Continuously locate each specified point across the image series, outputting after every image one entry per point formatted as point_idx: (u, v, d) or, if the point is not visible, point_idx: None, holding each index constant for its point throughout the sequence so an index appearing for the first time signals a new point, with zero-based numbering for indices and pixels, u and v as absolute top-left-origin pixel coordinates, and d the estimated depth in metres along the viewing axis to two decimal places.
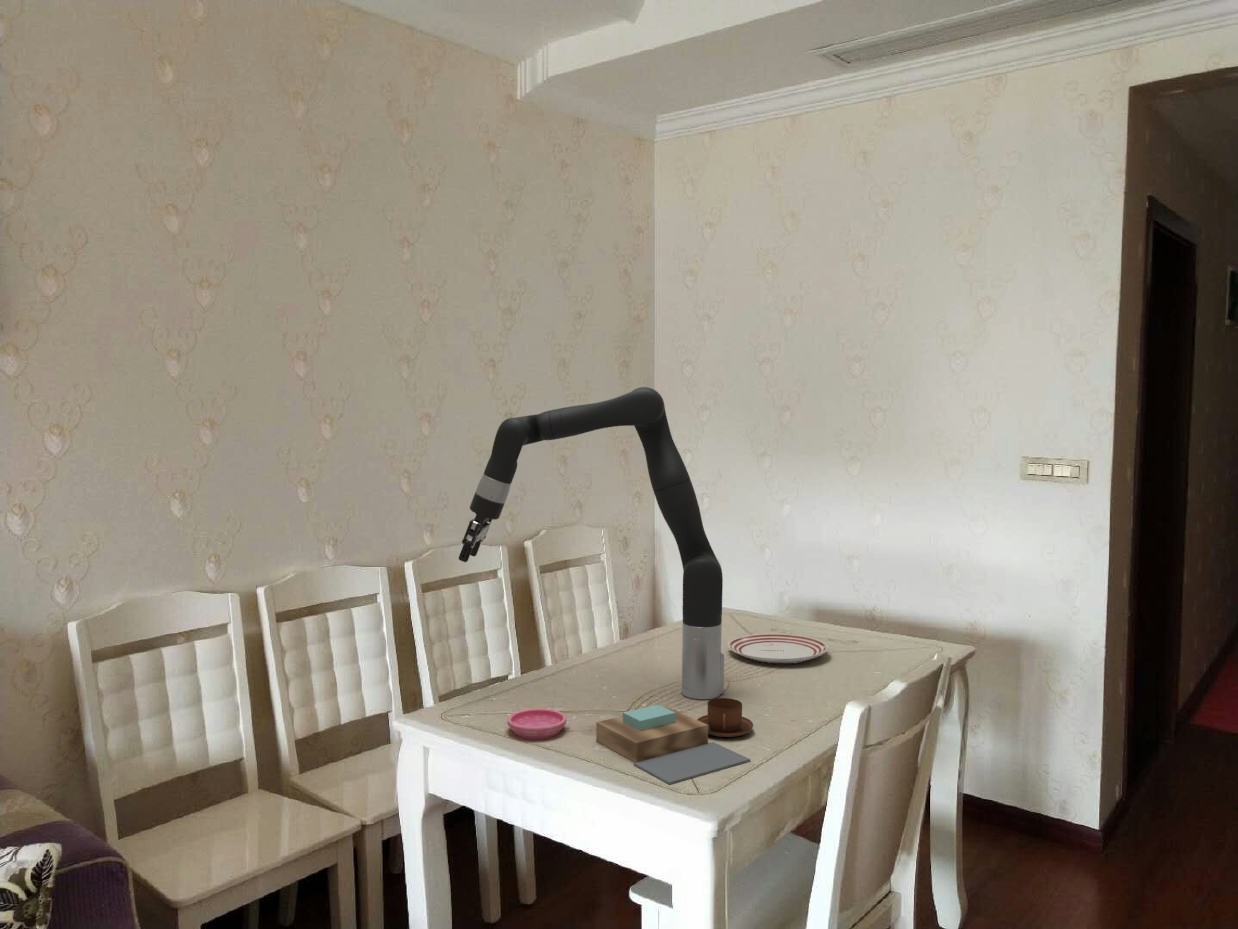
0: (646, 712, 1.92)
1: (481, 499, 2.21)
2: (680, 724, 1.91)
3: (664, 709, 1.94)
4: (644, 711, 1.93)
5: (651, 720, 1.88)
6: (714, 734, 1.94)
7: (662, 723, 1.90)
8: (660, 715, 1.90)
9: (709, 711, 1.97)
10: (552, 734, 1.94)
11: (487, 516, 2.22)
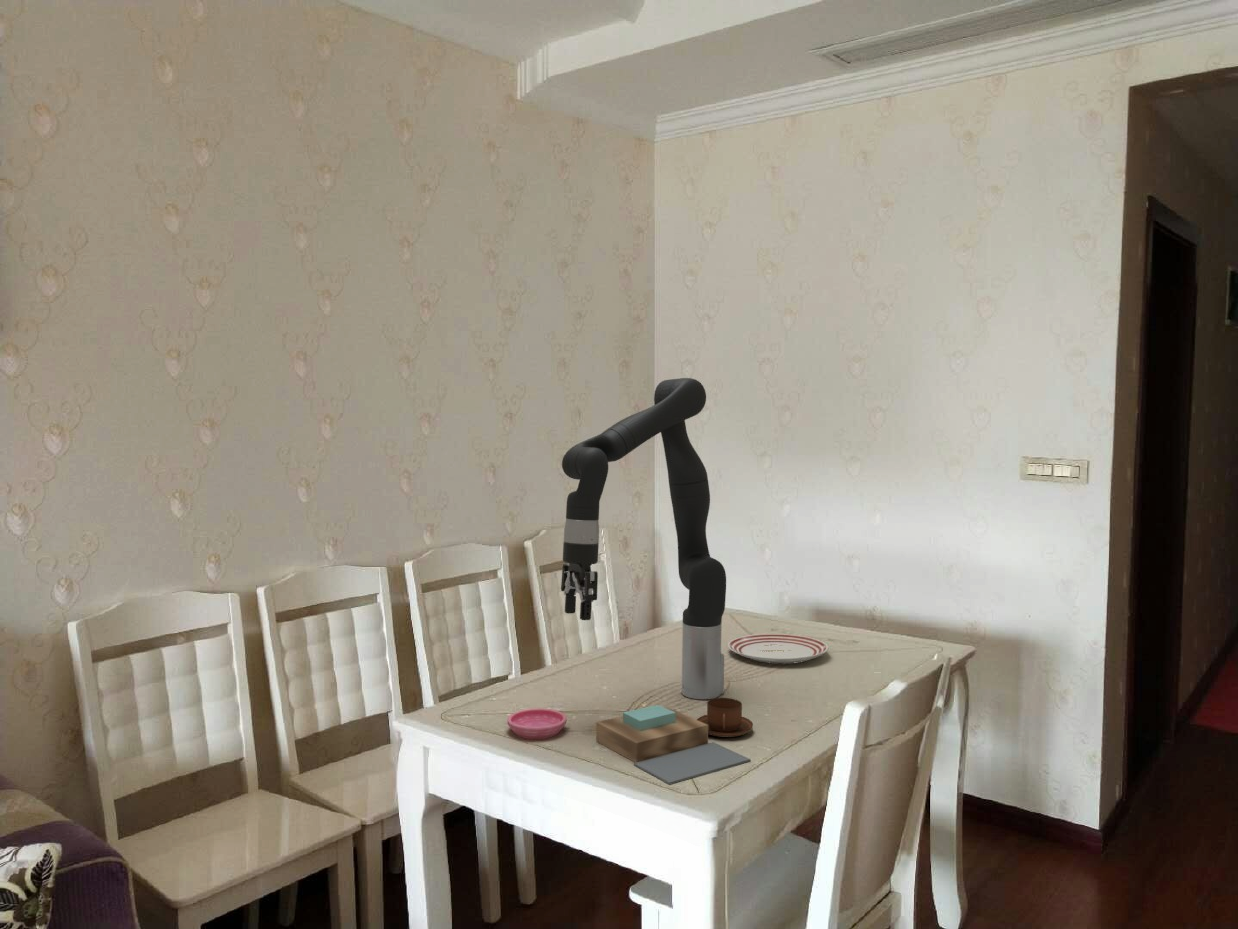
0: (646, 712, 1.92)
1: (582, 547, 1.96)
2: (680, 724, 1.91)
3: (664, 709, 1.94)
4: (644, 711, 1.93)
5: (651, 720, 1.88)
6: (714, 734, 1.94)
7: (662, 723, 1.90)
8: (660, 715, 1.90)
9: (709, 711, 1.97)
10: (552, 734, 1.94)
11: (593, 562, 1.97)
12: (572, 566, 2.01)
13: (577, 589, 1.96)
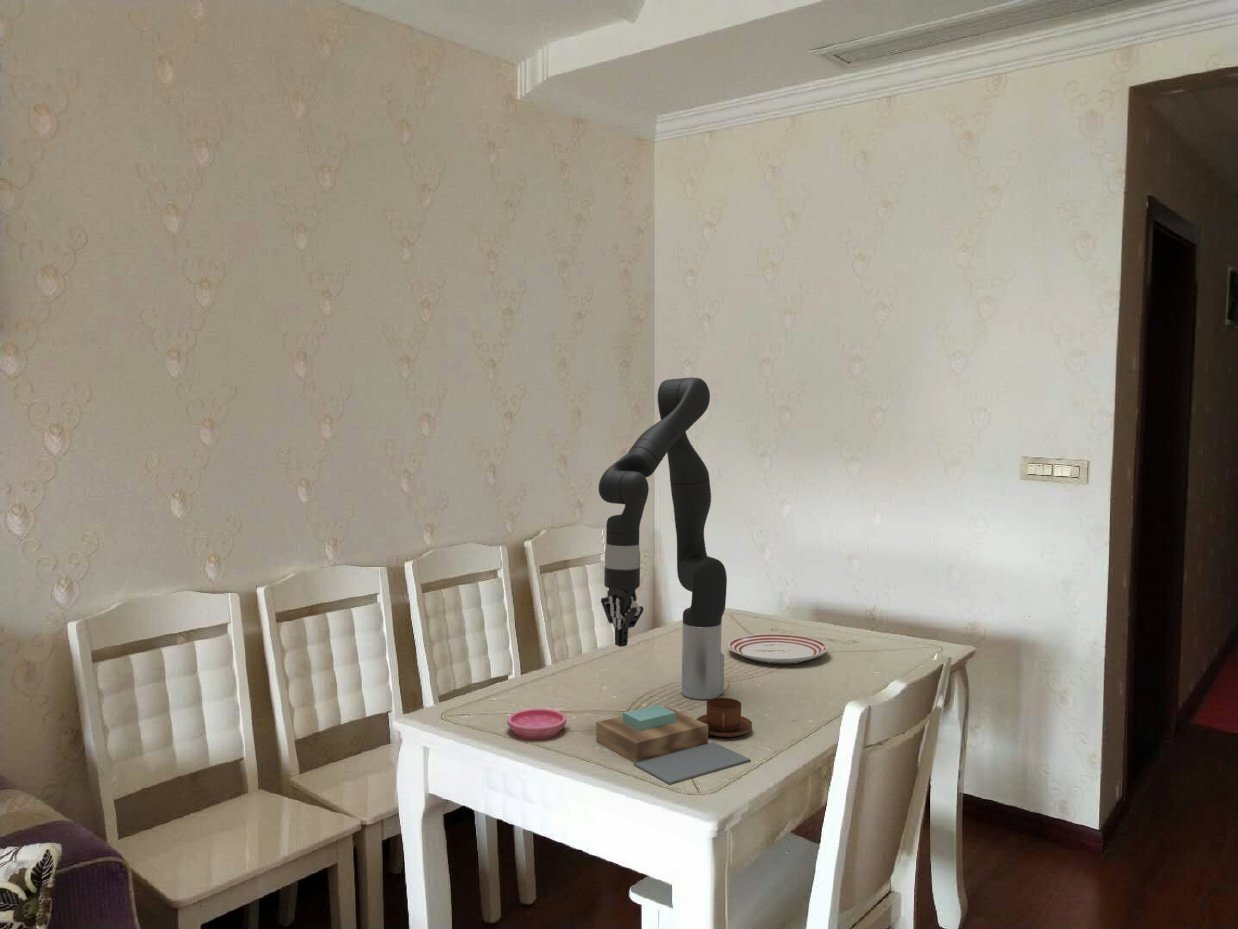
0: (646, 712, 1.92)
1: (628, 572, 1.95)
2: (680, 724, 1.91)
3: (664, 709, 1.94)
4: (644, 711, 1.93)
5: (651, 720, 1.88)
6: (713, 734, 1.94)
7: (662, 723, 1.90)
8: (660, 715, 1.90)
9: (708, 711, 1.97)
10: (552, 734, 1.94)
11: (637, 586, 1.97)
12: (613, 591, 1.99)
13: (617, 616, 1.97)
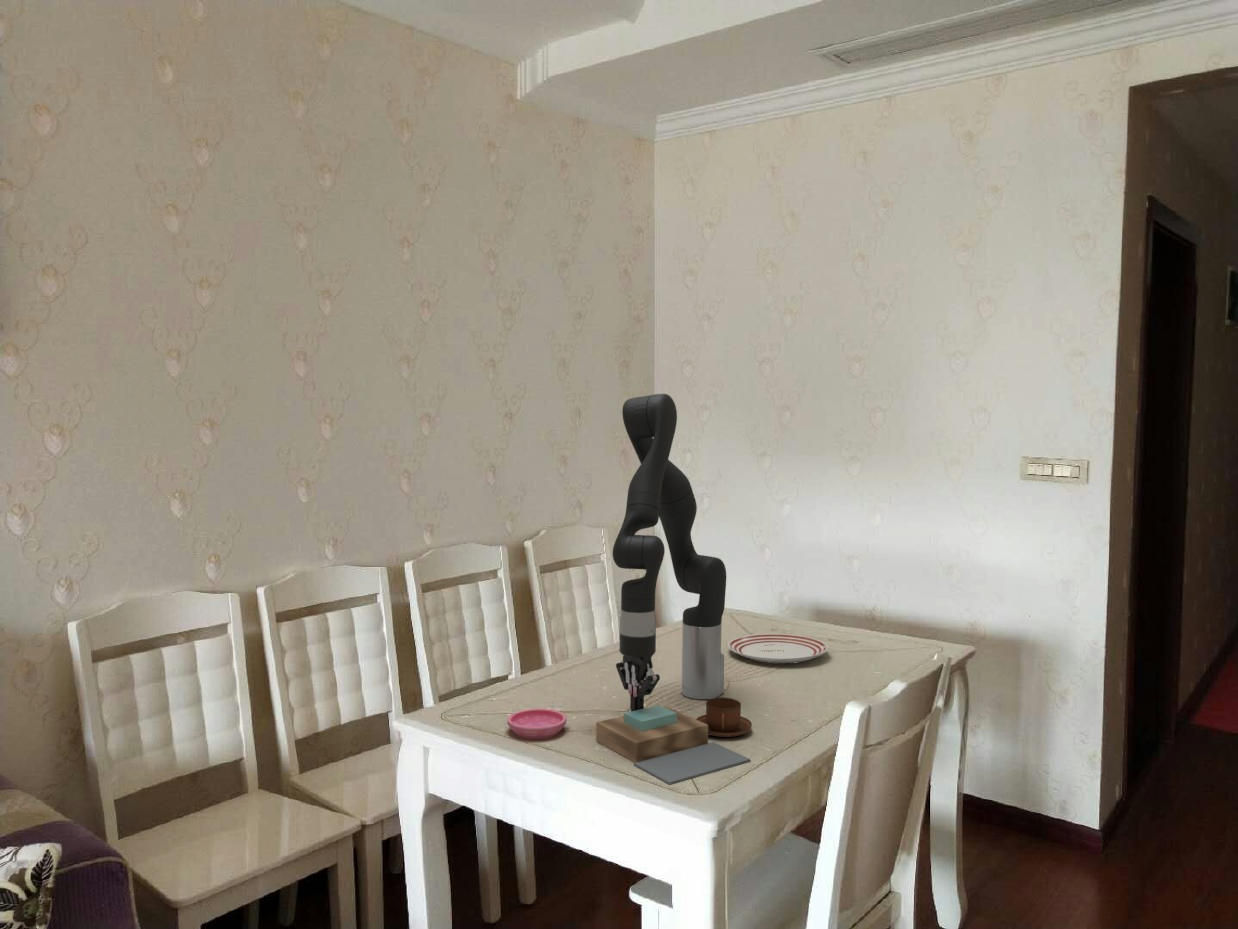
0: (647, 712, 1.92)
1: (643, 640, 1.90)
2: (680, 724, 1.91)
3: (665, 710, 1.93)
4: (645, 711, 1.92)
5: (653, 721, 1.88)
6: (713, 734, 1.94)
7: (663, 724, 1.90)
8: (661, 715, 1.90)
9: (708, 711, 1.97)
10: (552, 734, 1.94)
11: (653, 653, 1.92)
12: (629, 657, 1.95)
13: (633, 683, 1.93)
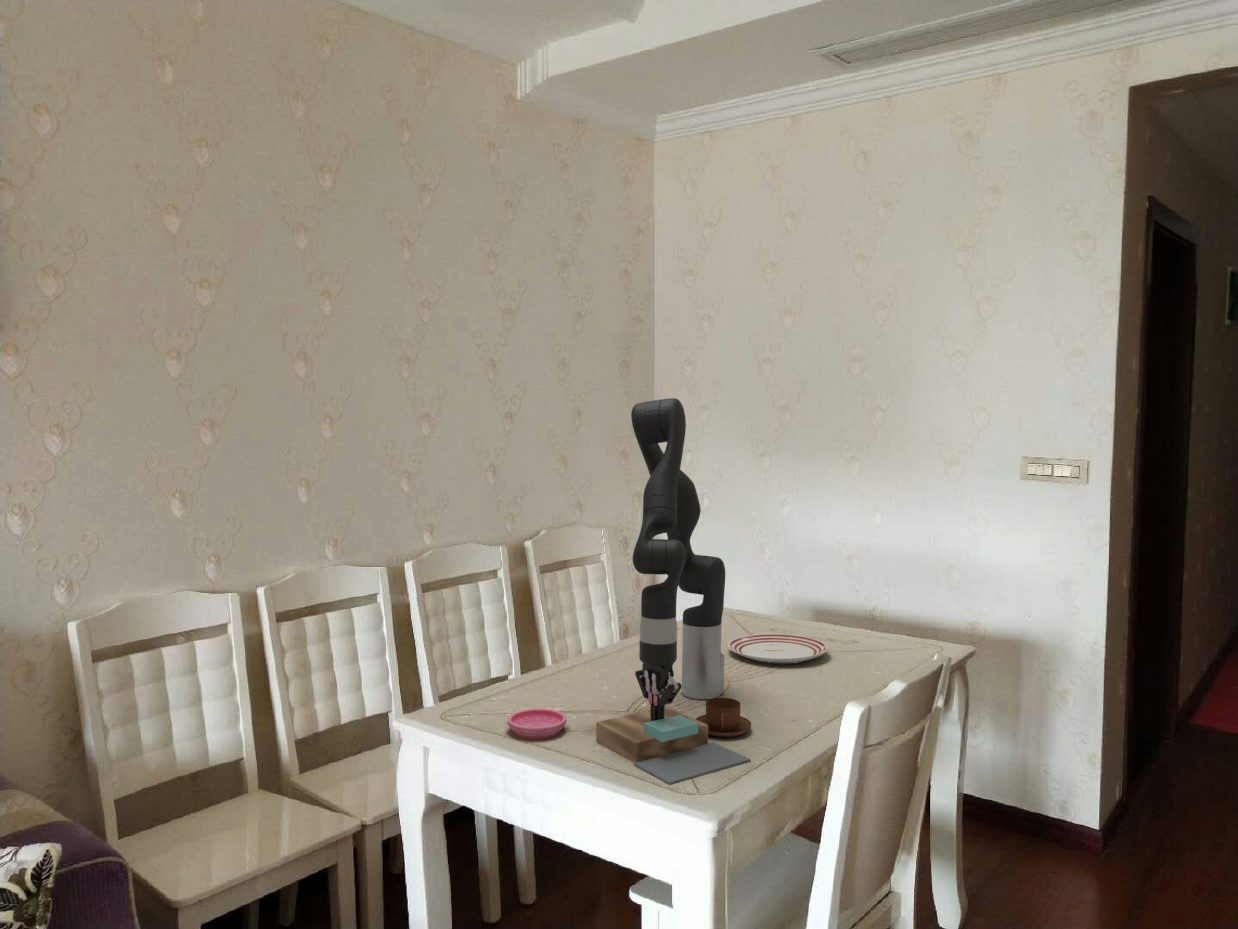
0: (668, 723, 1.86)
1: (664, 647, 1.85)
2: None
3: (686, 720, 1.88)
4: (666, 721, 1.87)
5: (674, 731, 1.82)
6: (712, 734, 1.94)
7: (684, 734, 1.84)
8: (682, 726, 1.84)
9: (707, 711, 1.97)
10: (552, 734, 1.94)
11: (674, 661, 1.87)
12: (649, 664, 1.89)
13: (653, 692, 1.87)
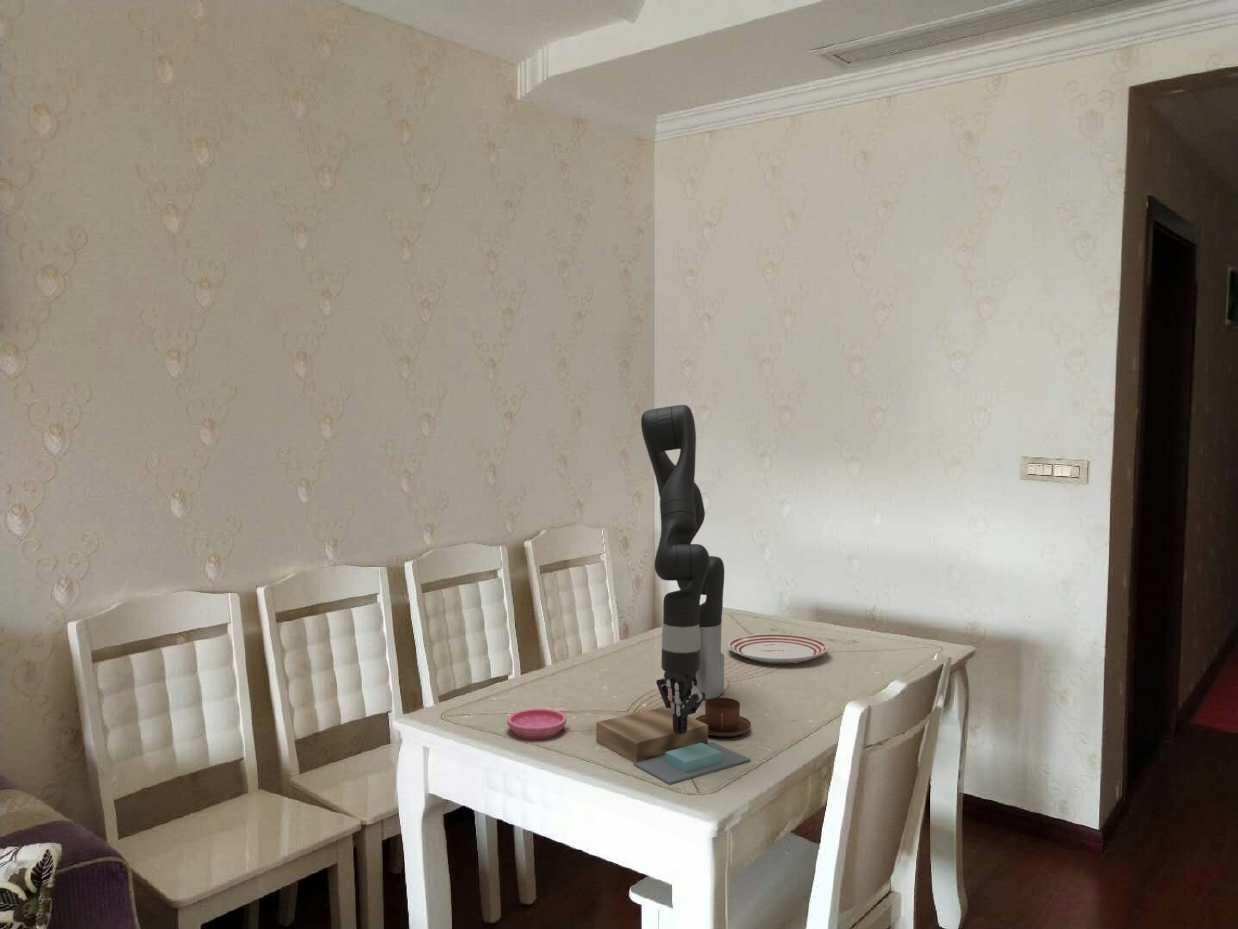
0: None
1: (688, 656, 1.79)
2: None
3: None
4: None
5: None
6: (712, 734, 1.94)
7: None
8: None
9: (707, 711, 1.97)
10: (552, 734, 1.94)
11: (698, 670, 1.81)
12: (671, 673, 1.83)
13: (676, 702, 1.81)
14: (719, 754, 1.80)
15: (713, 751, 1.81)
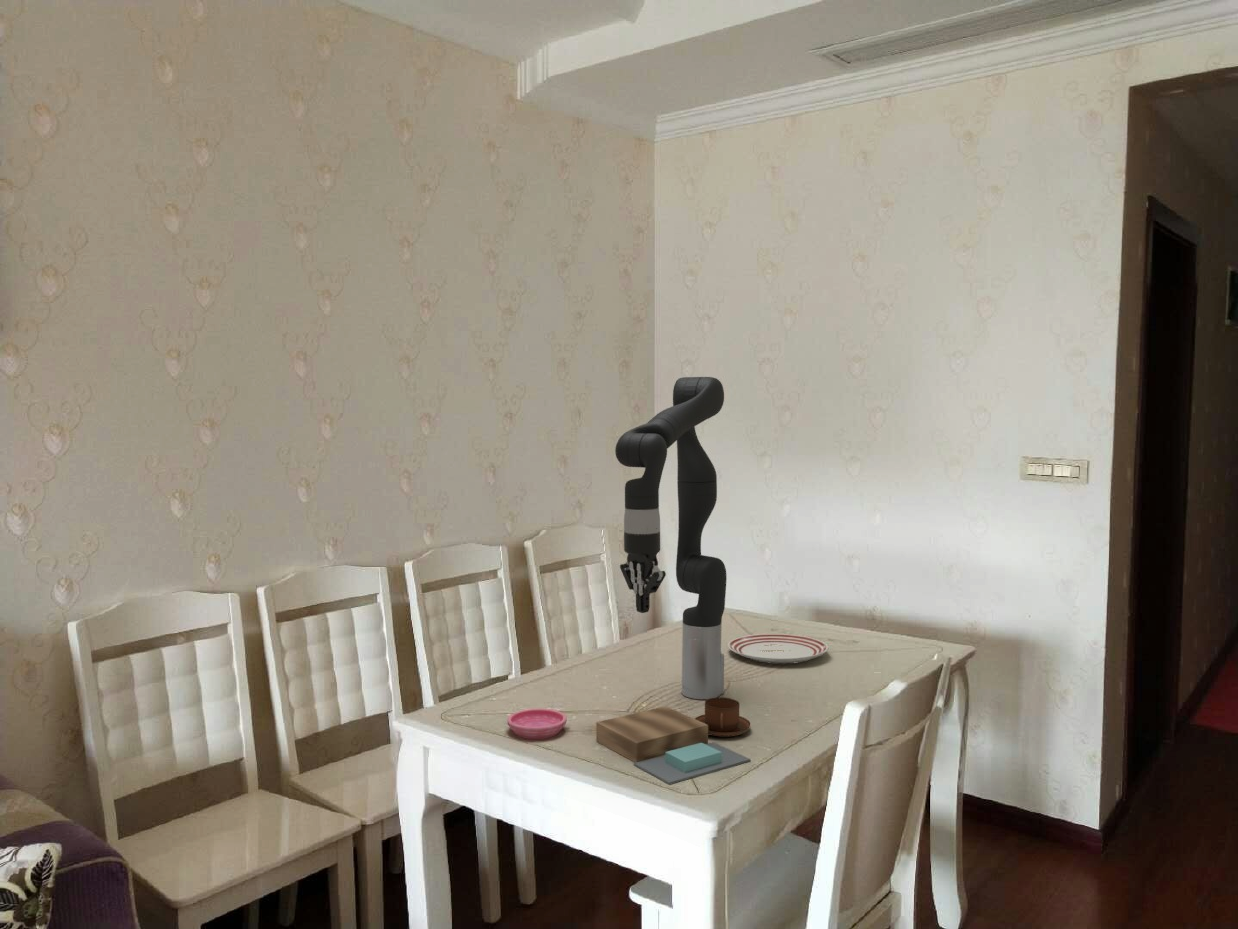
0: None
1: (648, 537, 1.90)
2: (680, 724, 1.91)
3: None
4: None
5: None
6: (711, 733, 1.94)
7: None
8: None
9: (706, 711, 1.97)
10: (552, 734, 1.94)
11: (658, 551, 1.93)
12: (633, 556, 1.95)
13: (639, 582, 1.93)
14: (719, 754, 1.80)
15: (713, 751, 1.81)
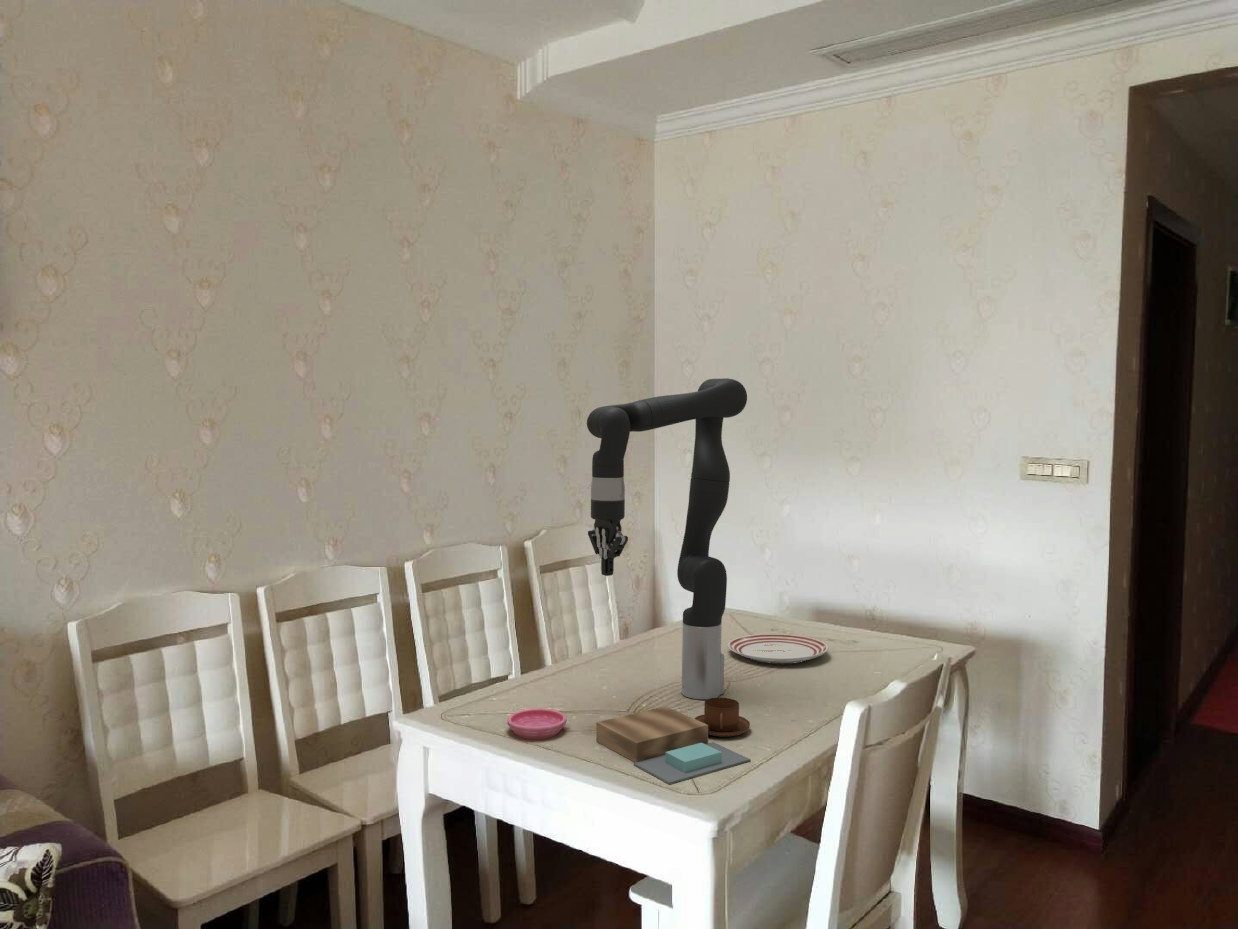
0: None
1: (613, 503, 2.04)
2: (680, 724, 1.91)
3: None
4: None
5: None
6: (711, 733, 1.94)
7: None
8: None
9: (706, 711, 1.97)
10: (552, 734, 1.94)
11: (622, 517, 2.05)
12: (599, 522, 2.08)
13: (603, 546, 2.06)
14: (719, 754, 1.80)
15: (713, 751, 1.81)
